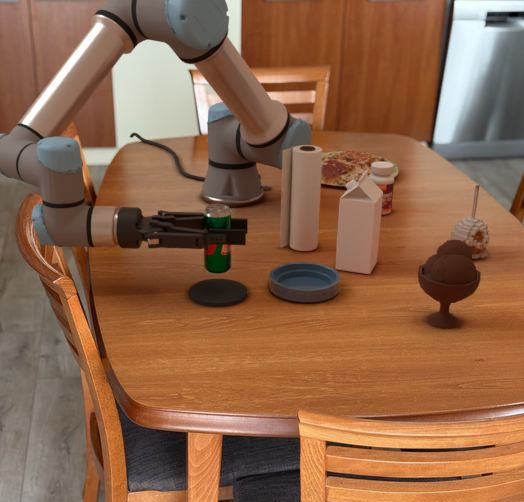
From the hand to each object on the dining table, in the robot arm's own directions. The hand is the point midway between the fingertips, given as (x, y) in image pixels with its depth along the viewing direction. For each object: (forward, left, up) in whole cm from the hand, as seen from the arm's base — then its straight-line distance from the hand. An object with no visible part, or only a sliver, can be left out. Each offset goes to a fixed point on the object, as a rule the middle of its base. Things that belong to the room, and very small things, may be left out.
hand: (246, 231), depth 156 cm
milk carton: (+4, +26, -13) cm, 30 cm away
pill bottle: (-15, +55, -13) cm, 59 cm away
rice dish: (-40, +71, -13) cm, 83 cm away
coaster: (-4, -4, -13) cm, 14 cm away
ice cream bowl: (+31, +19, -13) cm, 39 cm away
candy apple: (+15, +49, -13) cm, 53 cm away
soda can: (-4, -4, -8) cm, 9 cm away
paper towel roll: (-11, +25, -13) cm, 30 cm away
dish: (+5, +10, -13) cm, 17 cm away
